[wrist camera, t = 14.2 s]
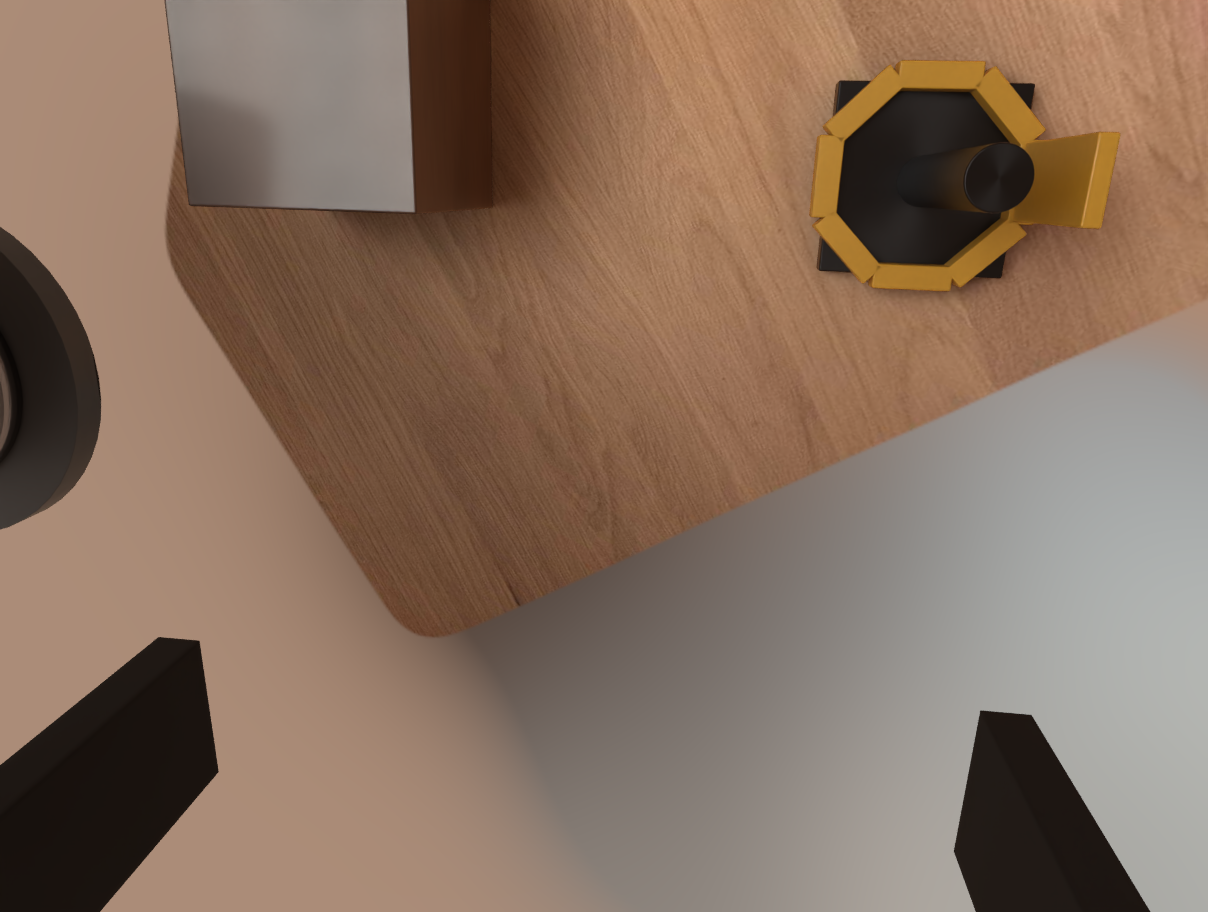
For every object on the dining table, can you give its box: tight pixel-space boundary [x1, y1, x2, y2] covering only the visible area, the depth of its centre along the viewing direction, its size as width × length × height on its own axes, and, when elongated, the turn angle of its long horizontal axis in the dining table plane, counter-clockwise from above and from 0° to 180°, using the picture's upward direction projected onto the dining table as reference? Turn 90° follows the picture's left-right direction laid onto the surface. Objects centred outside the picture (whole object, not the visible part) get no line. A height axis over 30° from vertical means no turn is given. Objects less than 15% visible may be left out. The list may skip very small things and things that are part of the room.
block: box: [165, 0, 492, 214], centre depth 38 cm, size 10×12×12 cm
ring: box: [809, 60, 1120, 291], centre depth 36 cm, size 10×10×9 cm
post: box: [817, 81, 1035, 278], centre depth 36 cm, size 9×9×13 cm
